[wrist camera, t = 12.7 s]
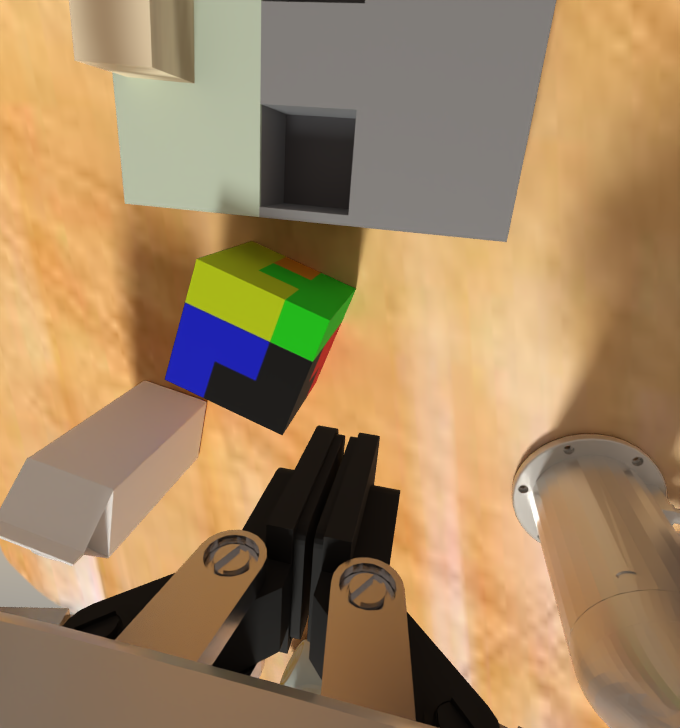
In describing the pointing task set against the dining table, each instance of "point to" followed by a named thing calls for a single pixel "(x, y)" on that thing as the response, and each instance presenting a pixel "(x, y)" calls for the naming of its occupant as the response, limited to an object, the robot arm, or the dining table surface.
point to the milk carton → (103, 475)
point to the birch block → (136, 37)
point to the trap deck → (343, 114)
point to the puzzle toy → (256, 332)
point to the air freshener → (302, 671)
